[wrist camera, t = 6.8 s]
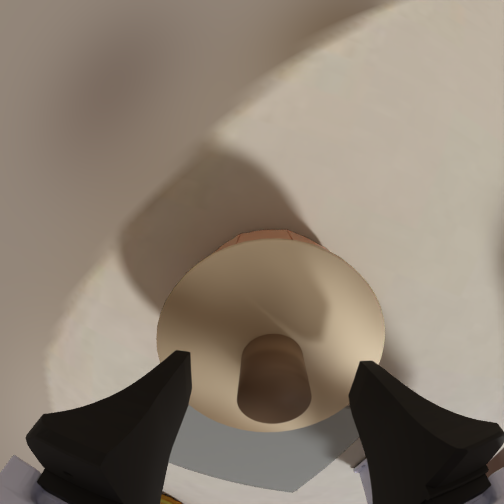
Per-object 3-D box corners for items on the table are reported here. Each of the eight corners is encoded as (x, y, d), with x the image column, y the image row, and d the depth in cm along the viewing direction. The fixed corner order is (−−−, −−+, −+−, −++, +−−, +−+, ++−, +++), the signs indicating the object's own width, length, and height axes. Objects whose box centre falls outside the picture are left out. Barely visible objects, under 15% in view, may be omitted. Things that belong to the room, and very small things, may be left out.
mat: (292, 490, 24) (292, 492, 24) (162, 457, 23) (161, 459, 22) (378, 412, 20) (380, 415, 20) (209, 362, 19) (208, 365, 19)
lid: (310, 438, 15) (317, 481, 12) (141, 381, 15) (118, 423, 11) (416, 295, 13) (455, 327, 9) (208, 195, 12) (185, 201, 8)
